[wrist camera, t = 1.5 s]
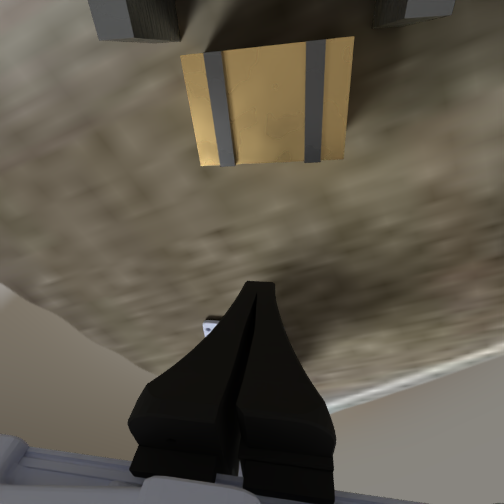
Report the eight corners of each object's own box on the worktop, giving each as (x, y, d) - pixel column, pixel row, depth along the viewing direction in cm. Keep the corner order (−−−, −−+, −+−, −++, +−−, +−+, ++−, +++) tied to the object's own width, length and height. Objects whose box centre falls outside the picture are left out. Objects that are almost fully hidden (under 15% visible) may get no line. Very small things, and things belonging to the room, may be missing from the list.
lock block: (335, 139, 18) (344, 161, 14) (217, 146, 19) (199, 167, 16) (342, 39, 15) (355, 35, 12) (203, 54, 16) (177, 55, 13)
